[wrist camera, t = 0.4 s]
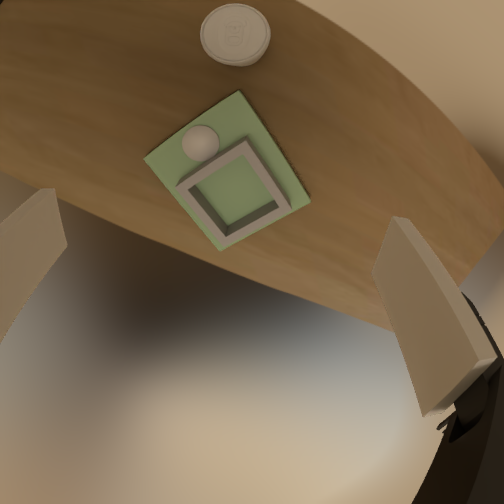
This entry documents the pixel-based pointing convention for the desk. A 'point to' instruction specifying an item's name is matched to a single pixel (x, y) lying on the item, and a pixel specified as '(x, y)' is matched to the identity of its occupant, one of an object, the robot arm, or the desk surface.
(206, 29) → the beverage can
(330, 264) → the desk surface
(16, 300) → the robot arm
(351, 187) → the desk surface
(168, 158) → the green tray with frame
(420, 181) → the desk surface
